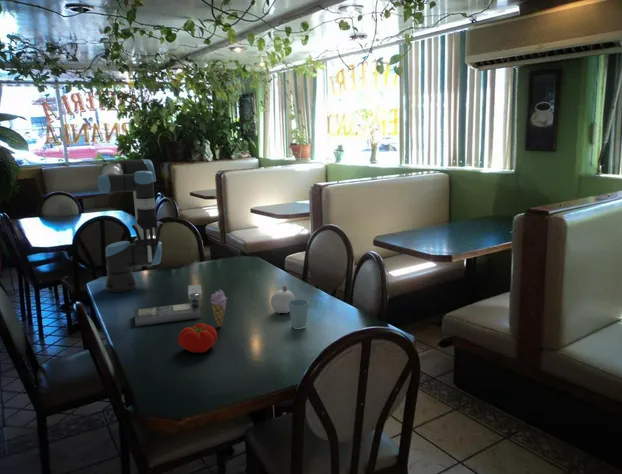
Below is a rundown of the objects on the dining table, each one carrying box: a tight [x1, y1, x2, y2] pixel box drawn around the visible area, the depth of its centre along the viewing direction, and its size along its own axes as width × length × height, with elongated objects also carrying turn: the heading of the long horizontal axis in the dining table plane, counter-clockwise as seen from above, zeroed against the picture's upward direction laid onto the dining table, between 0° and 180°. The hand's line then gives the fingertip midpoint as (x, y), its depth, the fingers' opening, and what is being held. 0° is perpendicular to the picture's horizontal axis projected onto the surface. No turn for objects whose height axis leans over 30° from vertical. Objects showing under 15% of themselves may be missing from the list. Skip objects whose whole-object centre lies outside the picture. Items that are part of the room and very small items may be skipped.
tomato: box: [177, 322, 218, 353], centre depth 178 cm, size 14×13×9 cm
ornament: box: [270, 285, 296, 314], centre depth 214 cm, size 10×10×12 cm
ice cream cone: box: [210, 289, 229, 328], centre depth 199 cm, size 7×6×15 cm
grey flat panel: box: [187, 284, 203, 302], centre depth 222 cm, size 6×18×2 cm, turn 14°
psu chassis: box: [134, 300, 202, 327], centre depth 211 cm, size 12×26×5 cm, turn 110°
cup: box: [289, 298, 309, 328], centre depth 198 cm, size 8×8×10 cm
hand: (150, 261), depth 218 cm, fingers closed
